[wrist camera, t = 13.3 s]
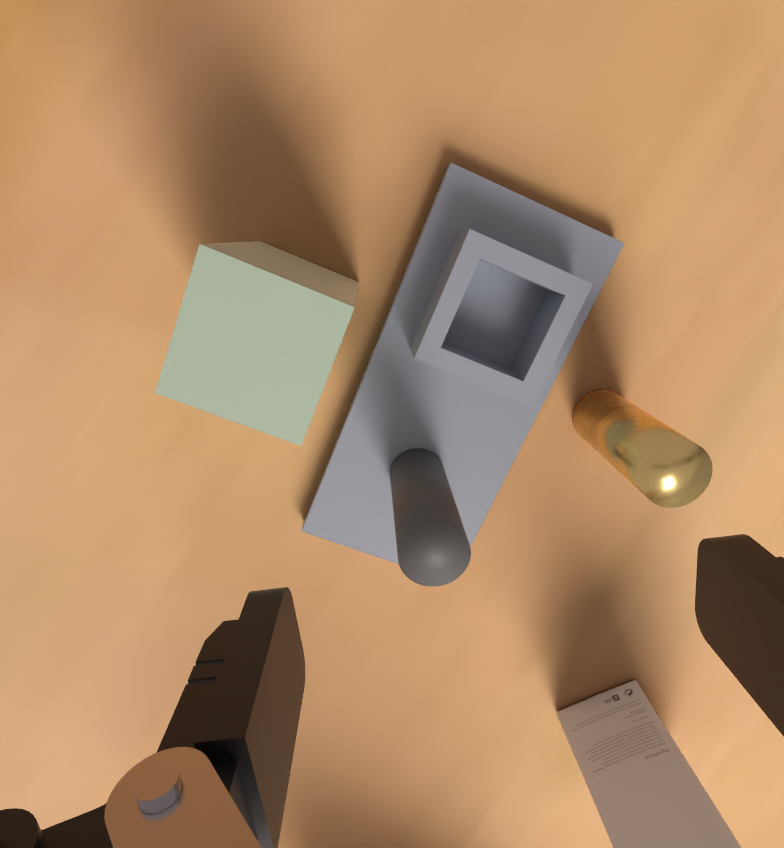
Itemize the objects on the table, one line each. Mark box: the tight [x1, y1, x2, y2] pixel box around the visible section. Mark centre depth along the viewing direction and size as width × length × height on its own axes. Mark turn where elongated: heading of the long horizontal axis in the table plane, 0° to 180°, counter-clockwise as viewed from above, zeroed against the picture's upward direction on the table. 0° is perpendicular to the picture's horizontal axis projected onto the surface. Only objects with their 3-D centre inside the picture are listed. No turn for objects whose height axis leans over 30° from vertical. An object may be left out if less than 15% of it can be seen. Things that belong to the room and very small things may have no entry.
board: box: [302, 163, 624, 586], centre depth 28 cm, size 10×22×10 cm, turn 158°
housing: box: [155, 241, 359, 446], centre depth 26 cm, size 6×6×12 cm
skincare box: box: [557, 680, 741, 848], centre depth 35 cm, size 8×7×16 cm
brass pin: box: [573, 390, 712, 508], centre depth 30 cm, size 3×3×9 cm
